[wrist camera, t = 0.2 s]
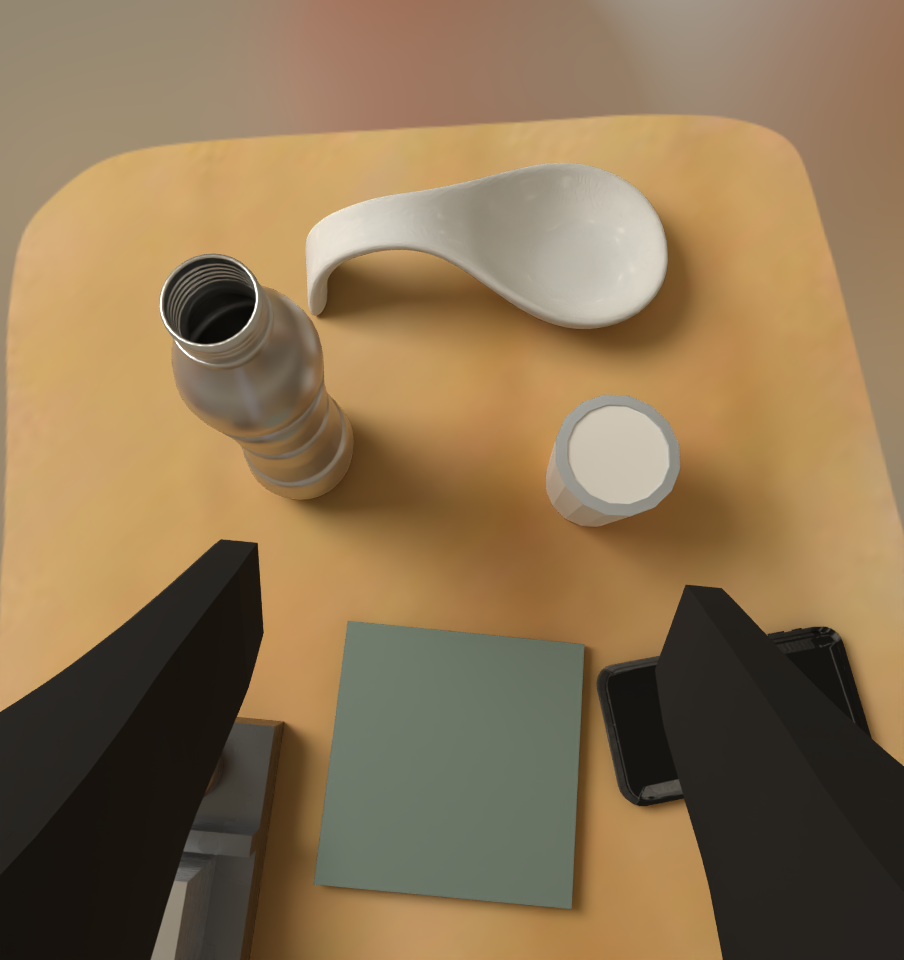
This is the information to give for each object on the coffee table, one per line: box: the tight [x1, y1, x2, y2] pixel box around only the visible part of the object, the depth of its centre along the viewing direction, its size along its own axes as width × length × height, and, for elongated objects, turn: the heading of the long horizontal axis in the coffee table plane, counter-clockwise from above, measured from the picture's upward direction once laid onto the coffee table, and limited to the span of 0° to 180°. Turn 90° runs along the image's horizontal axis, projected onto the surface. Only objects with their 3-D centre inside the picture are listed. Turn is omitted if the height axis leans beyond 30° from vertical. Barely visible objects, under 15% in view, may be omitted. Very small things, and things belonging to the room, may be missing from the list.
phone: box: [597, 627, 872, 806], centre depth 41 cm, size 8×1×15 cm
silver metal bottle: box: [159, 254, 354, 500], centre depth 34 cm, size 6×7×20 cm
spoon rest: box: [306, 163, 668, 329], centre depth 44 cm, size 24×12×7 cm, turn 96°
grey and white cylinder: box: [546, 395, 680, 527], centre depth 41 cm, size 7×7×7 cm
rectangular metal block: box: [151, 851, 217, 960], centre depth 33 cm, size 7×4×4 cm, turn 175°
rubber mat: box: [314, 621, 584, 909], centre depth 39 cm, size 14×14×1 cm
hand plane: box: [184, 717, 284, 960], centre depth 35 cm, size 20×8×6 cm, turn 175°
